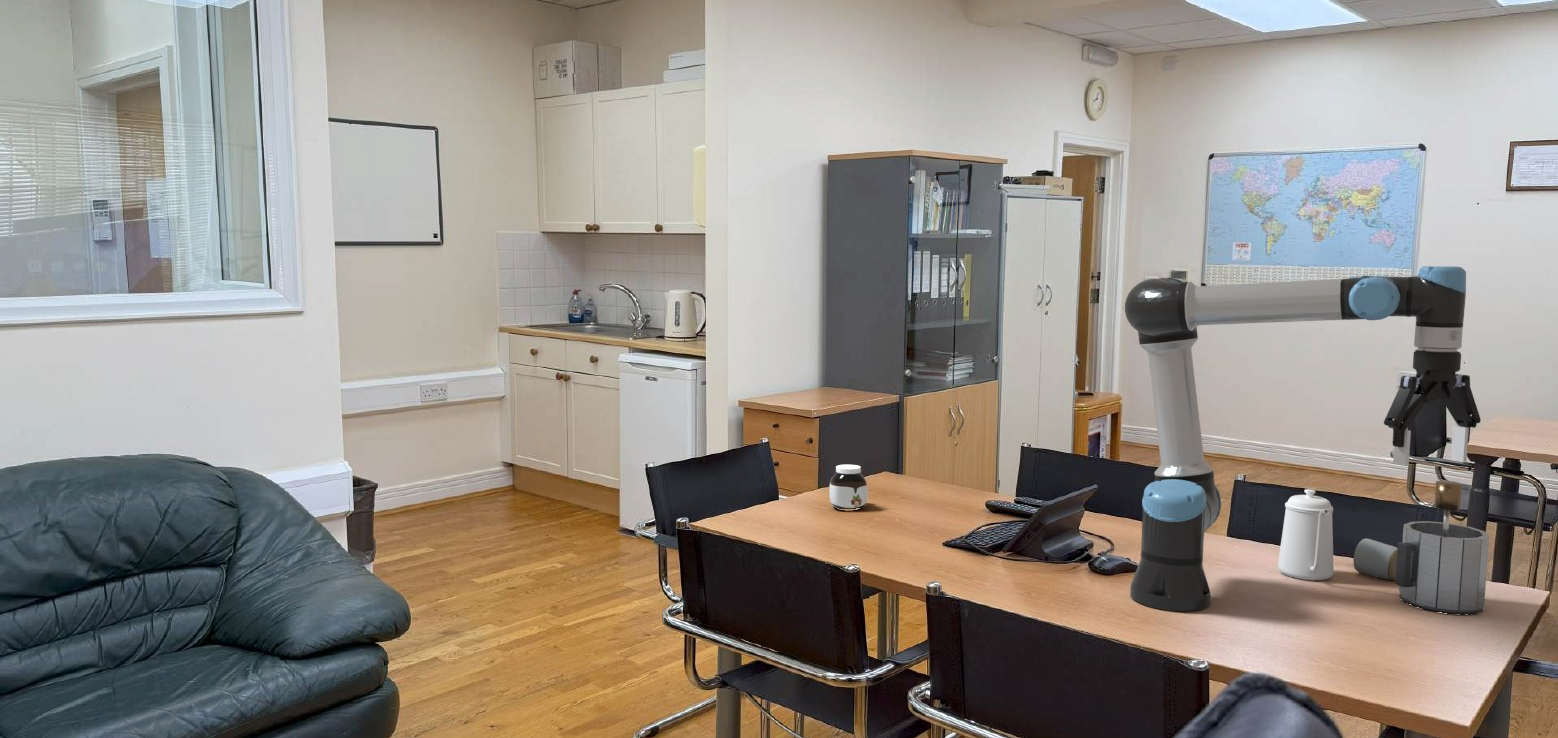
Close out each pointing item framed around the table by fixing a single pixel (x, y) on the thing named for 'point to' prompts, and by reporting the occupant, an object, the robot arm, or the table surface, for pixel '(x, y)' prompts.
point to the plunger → (1447, 500)
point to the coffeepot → (1307, 538)
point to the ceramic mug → (1376, 559)
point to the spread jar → (848, 487)
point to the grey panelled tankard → (1442, 567)
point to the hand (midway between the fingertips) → (1429, 462)
